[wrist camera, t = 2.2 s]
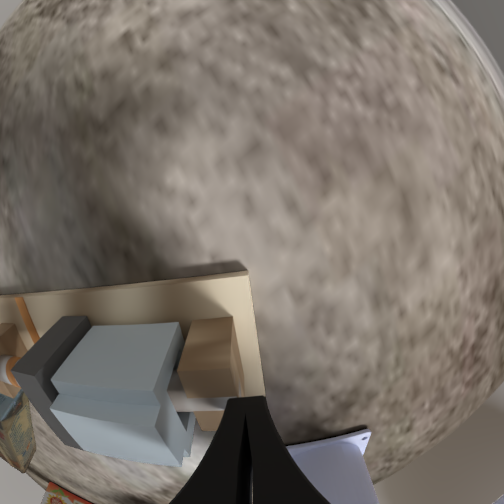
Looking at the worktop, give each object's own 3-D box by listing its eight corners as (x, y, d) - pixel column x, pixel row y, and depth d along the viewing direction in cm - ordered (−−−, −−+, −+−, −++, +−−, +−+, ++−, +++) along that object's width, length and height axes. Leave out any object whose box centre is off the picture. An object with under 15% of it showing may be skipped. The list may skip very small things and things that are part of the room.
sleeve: (178, 321, 12) (145, 411, 7) (200, 390, 13) (187, 474, 8) (93, 325, 12) (39, 394, 7) (122, 388, 13) (91, 458, 8)
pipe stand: (248, 270, 13) (250, 320, 8) (265, 390, 15) (270, 449, 11) (-9, 295, 13) (-44, 321, 9) (31, 378, 15) (7, 410, 11)
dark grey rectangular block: (86, 315, 12) (34, 376, 7) (120, 388, 14) (91, 452, 9) (62, 316, 12) (10, 370, 7) (96, 386, 14) (64, 444, 9)
